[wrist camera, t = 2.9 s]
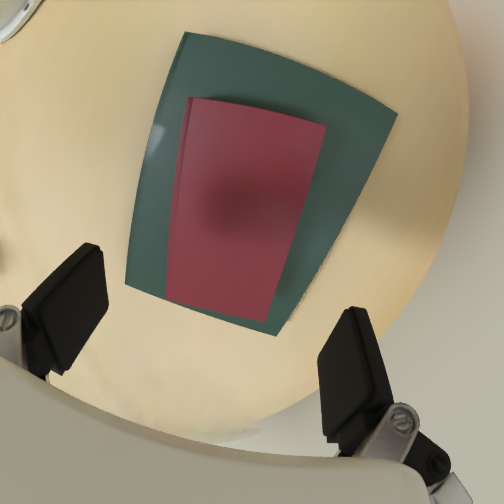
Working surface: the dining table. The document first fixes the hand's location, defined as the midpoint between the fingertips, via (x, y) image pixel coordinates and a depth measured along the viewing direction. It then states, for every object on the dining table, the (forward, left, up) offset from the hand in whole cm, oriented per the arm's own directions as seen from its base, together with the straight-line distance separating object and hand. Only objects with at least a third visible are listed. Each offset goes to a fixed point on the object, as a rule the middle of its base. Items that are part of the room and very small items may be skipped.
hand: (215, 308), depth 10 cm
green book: (0, 0, -11) cm, 11 cm away
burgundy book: (0, 0, -9) cm, 9 cm away
